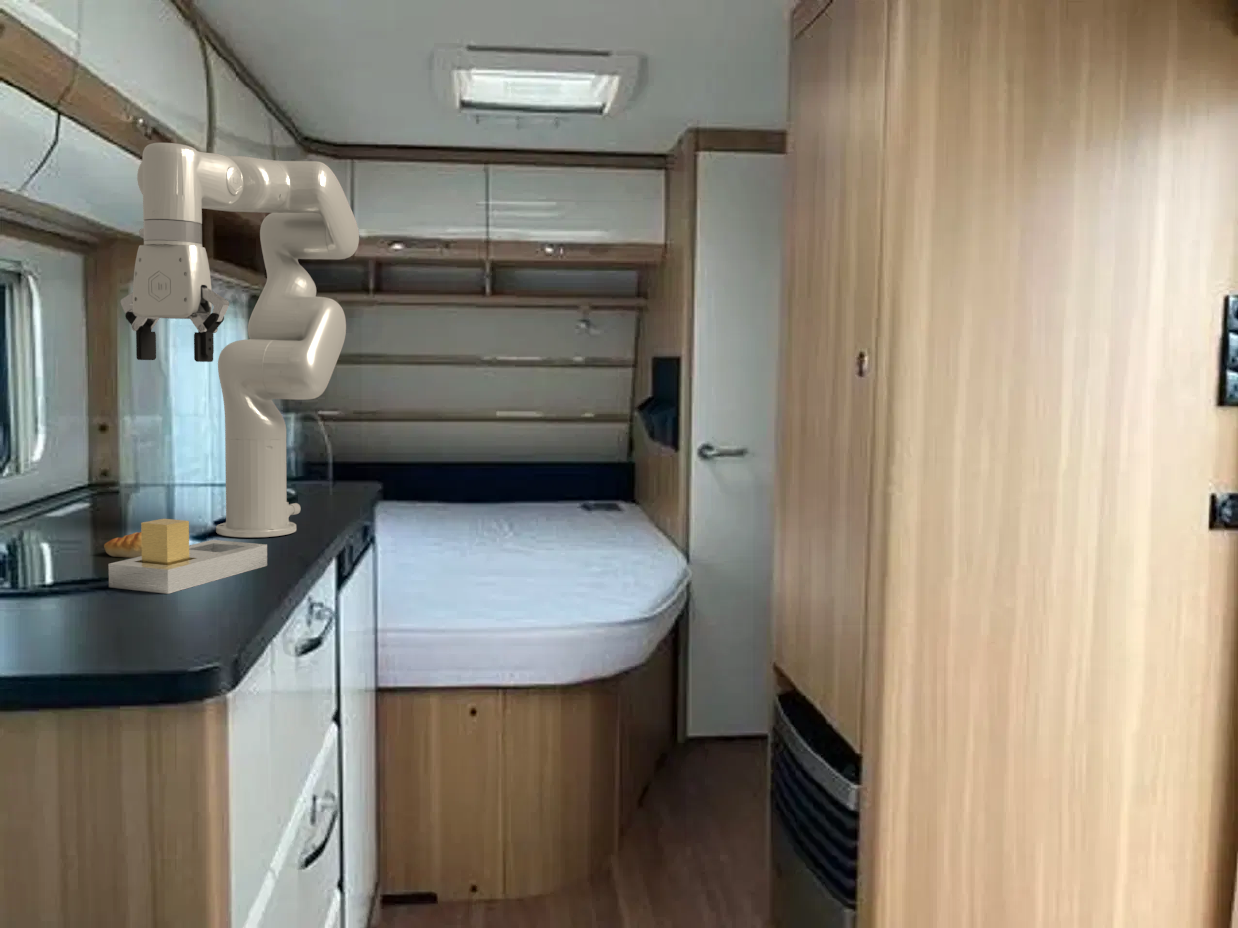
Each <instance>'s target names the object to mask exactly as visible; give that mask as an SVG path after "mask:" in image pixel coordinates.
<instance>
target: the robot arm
mask: <svg viewBox="0 0 1238 928" xmlns="http://www.w3.org/2000/svg"><path fill="white" fill-rule="evenodd" d="M136 176H137V177H136V179H137V180H136V181H137V185H138V188H139V191H140V193H141V194H142V199H143V200H142V208H143V212H142V213H143V214H142V215H143V216H142V217H143V218H142V219H143V228H140V229H139V232H138V233H139V234H138V235H139V237H140V238H142V239H143V244H140V245H138V249H137V253H136V256H135V257H136V258H135V264H134V271H133V283H132V284H133V285H132V292H131V293H129V294H127V295H126V296H124V297H123V298H121V299H120V304H121V308H122V309H123V313H124V314H125V319H126V320H127V321H128V323H129V324H130V325H131V327H130V328H131V330H132V331H134V332H135V337H136V338H135V343H136V344H135V345H136V346H135V348H136V349H135V350H136V352H135V353H136V360H138V361H155V360H156V358H157V335H156V331H152V330H153V328H154V327H155V325H156V324H157V323H158V321H159V320H160V319H171V320H173V319H176V320H177V319H178V320H181V319H182V320H185V319H186V320H190V321H191V323H192V324H193V325H194V326H195V328H196V329H197V331H198V332H196V331H195V332H194V334H193V354H194V355H193V358H194V361H195V362H196V363H197V362H198V363H199V362H200V363H202V362H203V363H211V362H212V363H213V361H214V352H215V350H214V347H215V346H214V345H215V343H214V342H215V341H214V334H215V333H217V332H218V329H219V327H220V325H222V323H223V321H224V320H225V315H226V314H227V311H228V309H229V306H230V301H229V300H228V299H226V298H224V297H223V296H221V295H220V294H217V293H216V291H213V290H212V280H211V271H210V264H209V258H208V253H207V251H206V247H203V225H202V224H203V213H202V212H203V210H202V209H207V210H213V211H223V212H234V213H235V212H236V213H238V212H241V213H267V215H266V216H265V217H264V218H263V220H262V223H261V225H260V228H259V229H260V230H259V238H260V245H261V252H262V256H263V262H264V267H265V270H266V277H267V278H266V283H265V285H264V286H263V287H264V288H263V289H262V291H261V293H260V295H259V297H258V300H257V301H256V303H255V306H254V308H253V310H252V312H251V315H250V317H249V320H248V325H247V335H248V338H249V339H240V340H235V341H233V342H230V343H228V344H226V345H225V347H223V348H222V350H221V351H220V354H219V356H218V360H217V372H218V378H219V384H220V387H221V388H220V389H221V393H222V397H223V398H222V399H223V407H224V410H223V411H224V427H225V429H224V432H225V435H224V437H225V438H224V440H225V441H224V443H225V444H224V446H225V448H224V450H225V451H224V452H225V453H224V454H225V457H224V458H225V522H223V523H220V524H217V525H216V526H215V532H216V533H217V535H220V536H224V537H231V538H269V537H271V538H272V537H279V536H285V535H290V534H294V533H296V532H297V524H296V523H295V522H293V521H290V520H289V517H290V516H293V515H298V514H299V513H301V505H300V504H299V503H297V502H295V503H290V504H289V501H288V500H287V498H288V497H287V496H288V495H287V490H288V489H287V426H286V421H285V419H284V417H283V414H282V413H281V412H280V410H279V409H278V407H277V406H276V404H275V403H274V401H273V400H299V401H301V400H314V399H317V398H318V397H320V396H322V395H323V394H324V392H325V391H326V389H327V387H328V385H329V382H330V380H331V378H332V375H333V372H334V370H335V368H336V365H337V362H338V360H339V357H340V355H341V351H342V349H343V346H344V343H345V340H346V335H347V334H346V332H347V322H346V315H345V312H344V309H343V308H342V306H341V304H339V302H338V301H336V300H335V299H332V298H329V297H326V296H325V297H324V296H316V295H317V287H316V283H315V281H314V280H313V278H312V277H311V275H310V274H309V273H308V271H307V270H306V269H305V268H304V267H303V266H302V265H301V264H300V263H299V260H345V259H348V258H351V256H353V255H354V254H355V253H356V251H357V250H358V247H359V243H360V232H359V227H358V222H357V220H356V218H355V215H354V212H353V211H352V208H351V206H350V203H349V201H348V198H347V196H346V194H345V192H344V190H343V187H342V186H341V184H340V181H339V180H338V178H337V176H336V175H335V173H334V172H333V170H332V168H330V167H329V166H328V165H327V164H325V163H324V162H322V161H318V160H316V161H315V160H305V161H304V160H274V159H266V158H264V159H263V158H258V157H252V156H251V157H250V156H246V155H245V156H244V155H224V154H220V153H213V152H204V151H199V150H197V149H196V148H195V147H192V146H189V145H186V144H182V143H175V142H173V143H172V142H153V143H149V144H147V145H146V146H145V147H144V149H143V151H142V161H141V162H140V164H139V166H138V169H137V175H136ZM212 306H213V309H212Z"/></svg>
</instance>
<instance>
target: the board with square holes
mask: <svg viewBox="0 0 1238 928" xmlns="http://www.w3.org/2000/svg"><path fill="white" fill-rule="evenodd" d="M267 566H268V544H267V543H266V544H264V543H263V544H262V543H254V542H253V543H252V542H241V541H233V540H232V541H231V540H220V539H211V540H206V541H202V542H197V543H193V544H189V560H188V561H184V562H180V563H176V564H172V565H160V564H150V563H142V556H140V557H136V558H126V559H124V560H119V561H115V562H111V563H108V588H111V589H122V590H130V591H131V590H132V591H140V592H149V593H156V594H157V593H159V594H166V595H169V594H173V593H175V592H179V591H184V590H185V589H186V590H187V589H190V588H192V587H193V588H194V587H197V586H200V585H204V584H207V583H211V582H212V583H213V582H214V581H219V580H222V579H225V578H229V577H232V576H235V575H236V576H237V575H239V574H243V573H246V572H250V571H253V570H257V569H261V568H264V567H267Z"/></svg>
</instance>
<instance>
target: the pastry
mask: <svg viewBox="0 0 1238 928" xmlns="http://www.w3.org/2000/svg"><path fill="white" fill-rule="evenodd" d="M103 547H104V550H105V553H106V554H107V555H108V556H111V557H113V558H115V557H117V558H126V559H132V558H136V557H140V556H142V541H141V531H139V532H137V531H136V532H133V533H130V534H127V535H123V536H122V537H115V538H112V539H110V540H109V541H107V542H105V543H104V544H103Z"/></svg>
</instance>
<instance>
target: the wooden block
mask: <svg viewBox="0 0 1238 928" xmlns="http://www.w3.org/2000/svg"><path fill="white" fill-rule="evenodd" d="M140 525H141V526H140V528H141V529H140V530H141V531H140V532H141V541H142V563H150V564H160V565H172V564H176V563H180V562H184V561H188V560H189V545H190V521H189V520H182V519H173V518H160V519H154V520H150V521H144V522H140Z"/></svg>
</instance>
